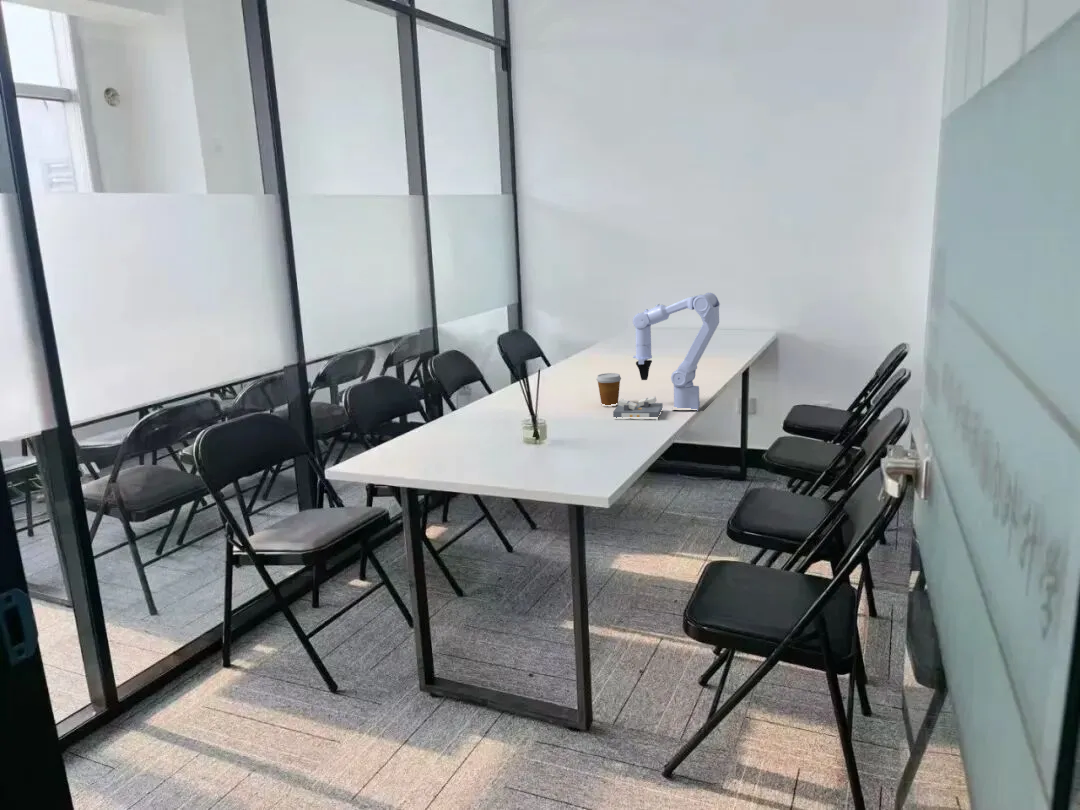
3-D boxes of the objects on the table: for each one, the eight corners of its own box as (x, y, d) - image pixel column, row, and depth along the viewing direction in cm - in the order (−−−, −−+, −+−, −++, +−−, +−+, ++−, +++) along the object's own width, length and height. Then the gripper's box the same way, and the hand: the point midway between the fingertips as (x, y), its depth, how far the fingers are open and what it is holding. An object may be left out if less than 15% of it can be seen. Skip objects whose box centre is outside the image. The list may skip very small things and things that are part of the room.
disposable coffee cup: (595, 408, 304) (593, 377, 301) (600, 402, 312) (599, 372, 310) (619, 408, 301) (618, 377, 298) (624, 402, 309) (623, 372, 307)
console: (662, 410, 293) (662, 397, 292) (657, 420, 280) (657, 406, 279) (620, 410, 297) (619, 397, 296) (613, 419, 284) (612, 406, 283)
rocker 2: (656, 400, 290) (655, 395, 290) (654, 402, 286) (653, 398, 286) (640, 403, 292) (639, 399, 292) (639, 406, 288) (637, 402, 288)
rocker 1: (635, 407, 288) (636, 403, 287) (633, 410, 284) (635, 405, 284) (620, 402, 289) (621, 398, 288) (618, 404, 285) (619, 400, 285)
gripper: (635, 341, 304) (636, 376, 307) (629, 347, 291) (630, 383, 294) (654, 341, 302) (654, 375, 305) (648, 347, 289) (649, 383, 292)
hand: (644, 379), depth 299 cm, fingers closed
